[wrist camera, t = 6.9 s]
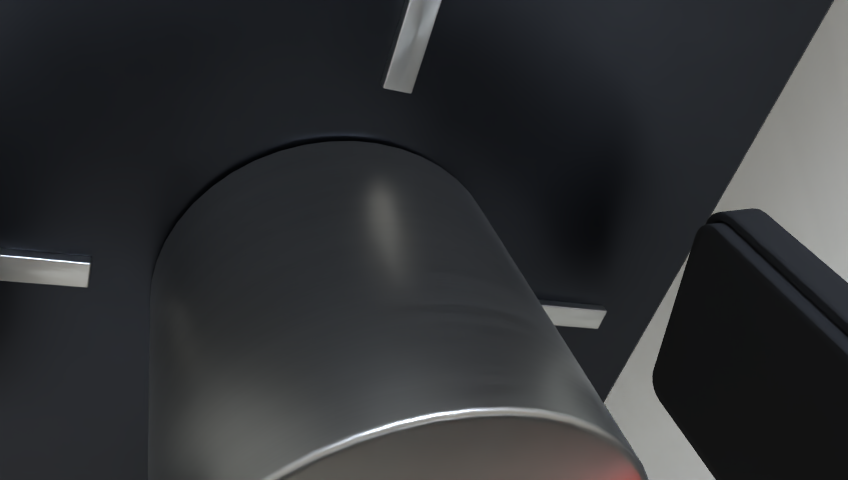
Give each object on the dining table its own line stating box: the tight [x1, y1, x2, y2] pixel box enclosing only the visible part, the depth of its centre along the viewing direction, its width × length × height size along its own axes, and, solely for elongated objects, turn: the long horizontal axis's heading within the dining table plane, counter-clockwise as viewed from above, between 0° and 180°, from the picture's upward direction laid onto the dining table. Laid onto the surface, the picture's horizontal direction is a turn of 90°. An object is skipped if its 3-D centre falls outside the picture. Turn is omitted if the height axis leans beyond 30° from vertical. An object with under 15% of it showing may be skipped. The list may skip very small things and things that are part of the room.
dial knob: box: [148, 141, 648, 480], centre depth 9 cm, size 5×5×5 cm
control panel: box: [0, 0, 834, 480], centre depth 12 cm, size 14×11×3 cm
